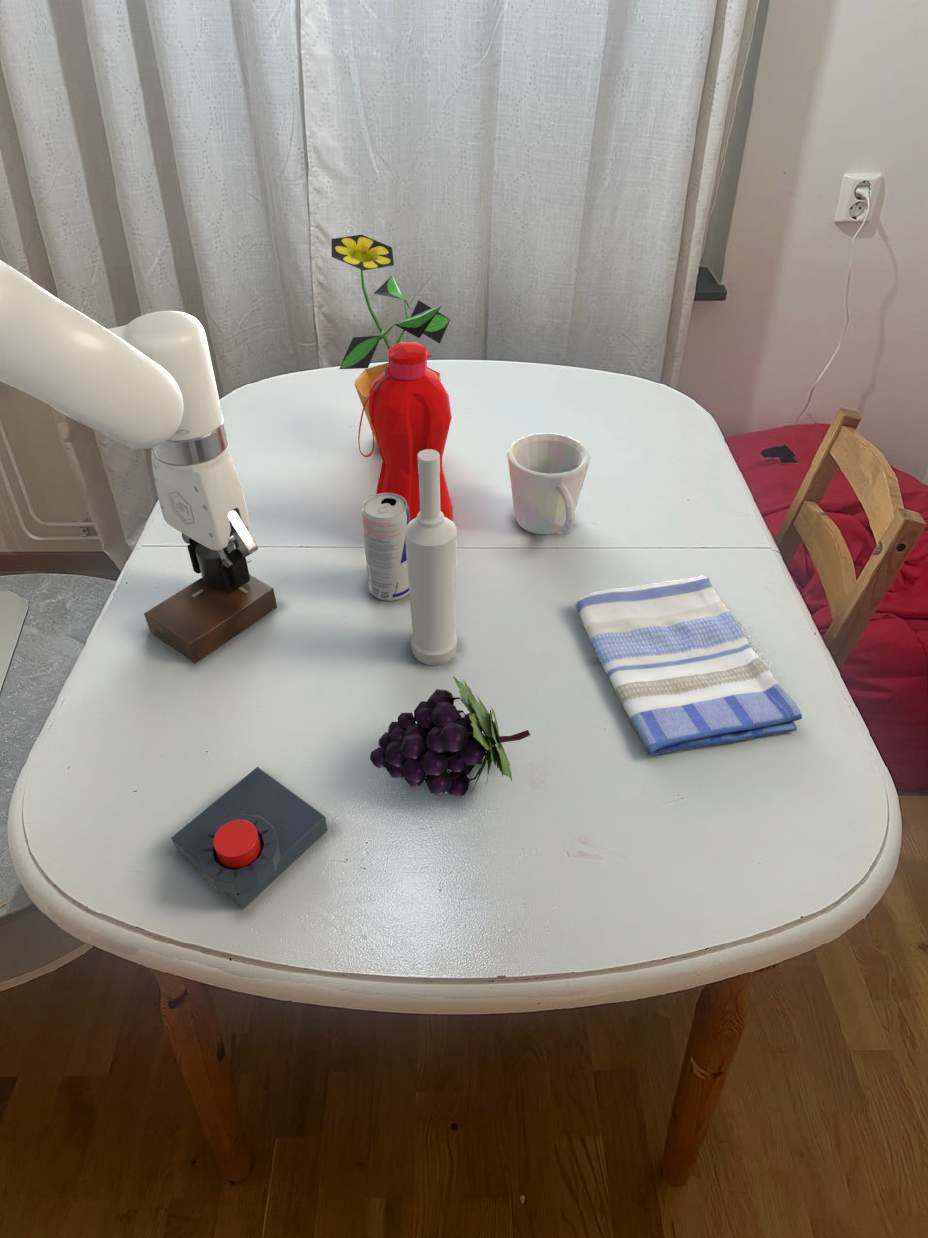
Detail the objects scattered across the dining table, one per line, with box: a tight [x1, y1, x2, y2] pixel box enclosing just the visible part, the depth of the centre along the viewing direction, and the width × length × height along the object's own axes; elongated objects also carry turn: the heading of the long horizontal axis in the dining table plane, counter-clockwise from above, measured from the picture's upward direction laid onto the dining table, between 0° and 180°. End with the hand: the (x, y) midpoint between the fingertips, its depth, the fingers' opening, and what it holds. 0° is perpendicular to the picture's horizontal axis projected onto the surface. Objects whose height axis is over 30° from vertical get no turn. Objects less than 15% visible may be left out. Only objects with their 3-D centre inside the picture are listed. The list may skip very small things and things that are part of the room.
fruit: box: [369, 675, 531, 798], centre depth 79 cm, size 10×11×15 cm
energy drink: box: [361, 493, 410, 602], centre depth 99 cm, size 5×5×12 cm
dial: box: [195, 541, 236, 590], centre depth 98 cm, size 4×4×5 cm
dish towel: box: [575, 574, 803, 755], centre depth 92 cm, size 17×24×3 cm
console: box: [143, 558, 278, 665], centre depth 98 cm, size 14×10×3 cm
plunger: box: [213, 820, 261, 868], centre depth 71 cm, size 4×4×2 cm
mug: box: [506, 432, 591, 536], centre depth 109 cm, size 10×15×10 cm
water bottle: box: [357, 341, 454, 522], centre depth 103 cm, size 9×11×25 cm
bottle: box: [405, 449, 458, 666], centre depth 86 cm, size 5×5×25 cm
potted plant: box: [331, 234, 451, 446], centre depth 117 cm, size 18×19×30 cm
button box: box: [170, 766, 328, 910], centre depth 75 cm, size 11×10×4 cm
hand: (221, 575), depth 99 cm, fingers open, 4 cm apart
